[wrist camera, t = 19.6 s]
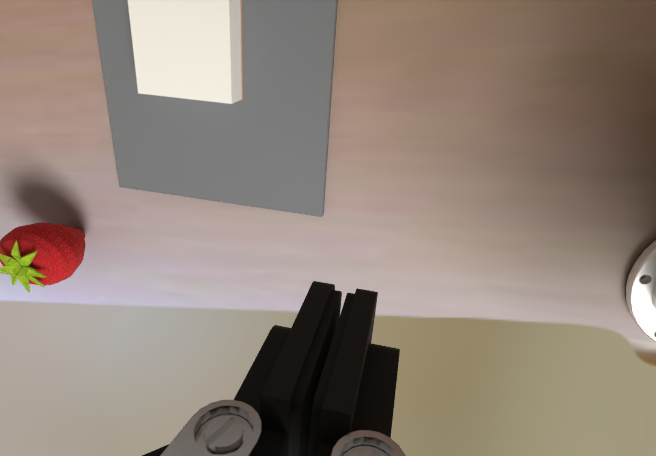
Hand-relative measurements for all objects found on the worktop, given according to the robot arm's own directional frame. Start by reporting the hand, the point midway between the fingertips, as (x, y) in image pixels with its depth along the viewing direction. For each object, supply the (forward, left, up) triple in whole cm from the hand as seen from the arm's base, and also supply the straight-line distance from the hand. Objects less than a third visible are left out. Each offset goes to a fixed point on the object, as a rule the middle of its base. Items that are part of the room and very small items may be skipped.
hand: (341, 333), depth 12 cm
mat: (+16, -4, -27) cm, 32 cm away
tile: (+13, -5, -25) cm, 29 cm away
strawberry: (+32, +15, -27) cm, 45 cm away
